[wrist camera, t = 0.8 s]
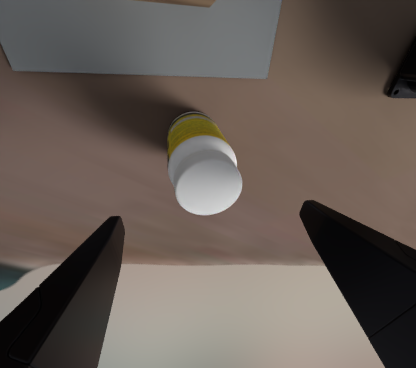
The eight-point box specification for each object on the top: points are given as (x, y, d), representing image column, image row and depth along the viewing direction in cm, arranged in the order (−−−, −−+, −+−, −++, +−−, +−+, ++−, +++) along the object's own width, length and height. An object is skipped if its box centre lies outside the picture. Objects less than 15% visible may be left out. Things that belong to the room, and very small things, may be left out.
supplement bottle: (156, 127, 17) (149, 178, 10) (204, 100, 16) (231, 135, 9) (184, 168, 19) (193, 230, 13) (225, 146, 19) (258, 199, 12)
